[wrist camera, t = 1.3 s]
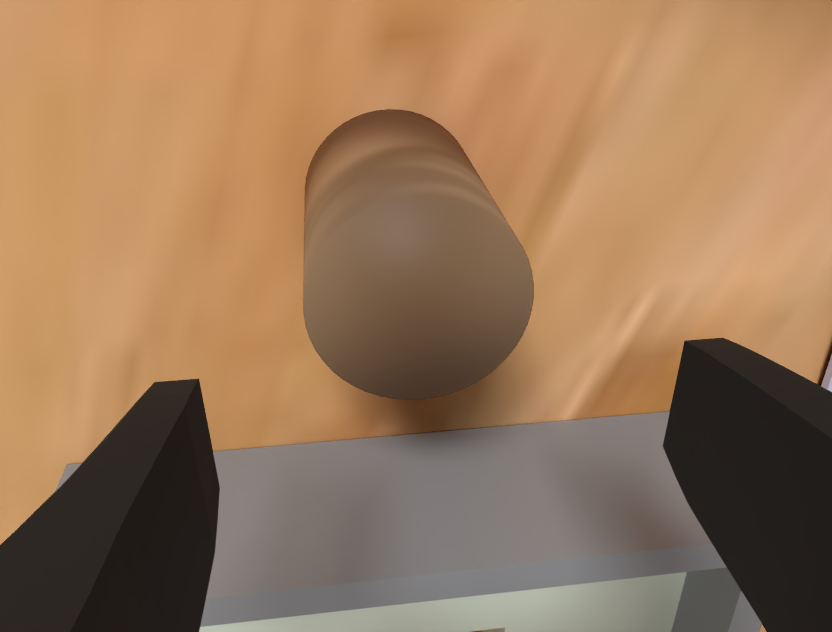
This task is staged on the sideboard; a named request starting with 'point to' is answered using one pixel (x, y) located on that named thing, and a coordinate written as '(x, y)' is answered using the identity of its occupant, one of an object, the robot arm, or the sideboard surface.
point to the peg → (408, 260)
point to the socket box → (467, 535)
